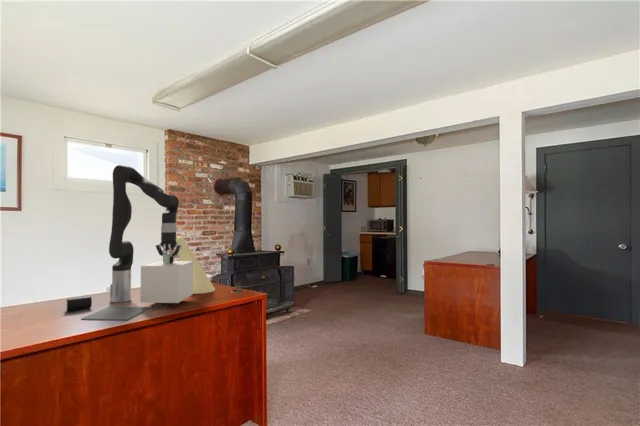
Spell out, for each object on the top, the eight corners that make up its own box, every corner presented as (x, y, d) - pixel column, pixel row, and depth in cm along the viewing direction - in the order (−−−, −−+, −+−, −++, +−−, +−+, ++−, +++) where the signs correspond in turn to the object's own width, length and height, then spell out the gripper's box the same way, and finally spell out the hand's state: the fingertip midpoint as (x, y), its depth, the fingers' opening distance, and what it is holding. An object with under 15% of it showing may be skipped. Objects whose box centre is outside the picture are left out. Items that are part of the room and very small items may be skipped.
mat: (80, 319, 161) (80, 318, 161) (109, 307, 183) (109, 306, 183) (127, 320, 161) (127, 319, 161) (151, 307, 182) (151, 306, 182)
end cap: (67, 313, 171) (67, 299, 171) (65, 310, 177) (65, 297, 177) (91, 310, 178) (91, 296, 178) (89, 307, 183) (89, 294, 183)
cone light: (208, 286, 238) (209, 234, 238) (219, 290, 224) (220, 235, 224) (170, 291, 223) (171, 235, 223) (180, 296, 208) (180, 237, 209)
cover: (140, 302, 181) (140, 256, 181) (158, 293, 201) (159, 252, 201) (178, 303, 181) (178, 256, 181) (192, 294, 200) (193, 252, 200)
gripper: (152, 231, 187) (152, 264, 187) (178, 231, 187) (178, 264, 187) (159, 230, 195) (158, 262, 195) (184, 231, 194) (183, 262, 194)
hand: (168, 263), depth 191 cm, fingers closed on cover, 2 cm apart
